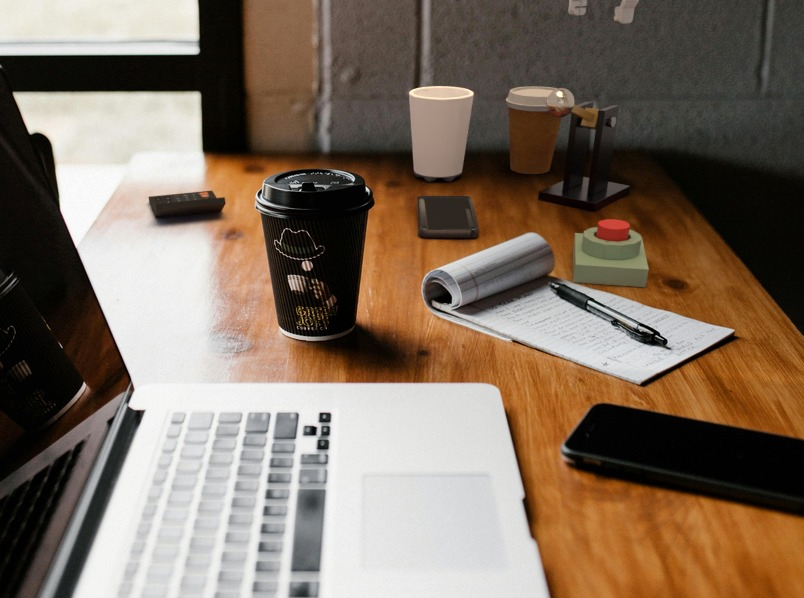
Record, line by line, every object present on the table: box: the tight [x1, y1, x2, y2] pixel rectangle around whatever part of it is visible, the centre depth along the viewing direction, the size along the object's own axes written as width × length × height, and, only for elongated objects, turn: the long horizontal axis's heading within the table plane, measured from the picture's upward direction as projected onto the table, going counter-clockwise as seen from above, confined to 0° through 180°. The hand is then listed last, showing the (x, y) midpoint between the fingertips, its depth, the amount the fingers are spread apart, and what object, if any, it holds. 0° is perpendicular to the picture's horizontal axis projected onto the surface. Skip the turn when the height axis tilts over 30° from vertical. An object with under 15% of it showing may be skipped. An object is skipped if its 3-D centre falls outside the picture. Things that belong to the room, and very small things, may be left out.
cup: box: [408, 85, 475, 183], centre depth 133 cm, size 10×10×13 cm
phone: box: [416, 195, 480, 239], centre depth 118 cm, size 8×1×15 cm
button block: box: [572, 226, 650, 288], centre depth 101 cm, size 11×8×4 cm
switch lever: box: [546, 87, 600, 131], centre depth 117 cm, size 14×4×4 cm, turn 139°
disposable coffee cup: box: [505, 85, 563, 175], centre depth 137 cm, size 10×10×12 cm
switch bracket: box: [537, 101, 631, 212], centre depth 124 cm, size 11×9×13 cm
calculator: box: [148, 190, 226, 218], centre depth 122 cm, size 9×12×3 cm
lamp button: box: [596, 218, 631, 242], centre depth 100 cm, size 4×4×2 cm
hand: (598, 18), depth 110 cm, fingers open, 8 cm apart
